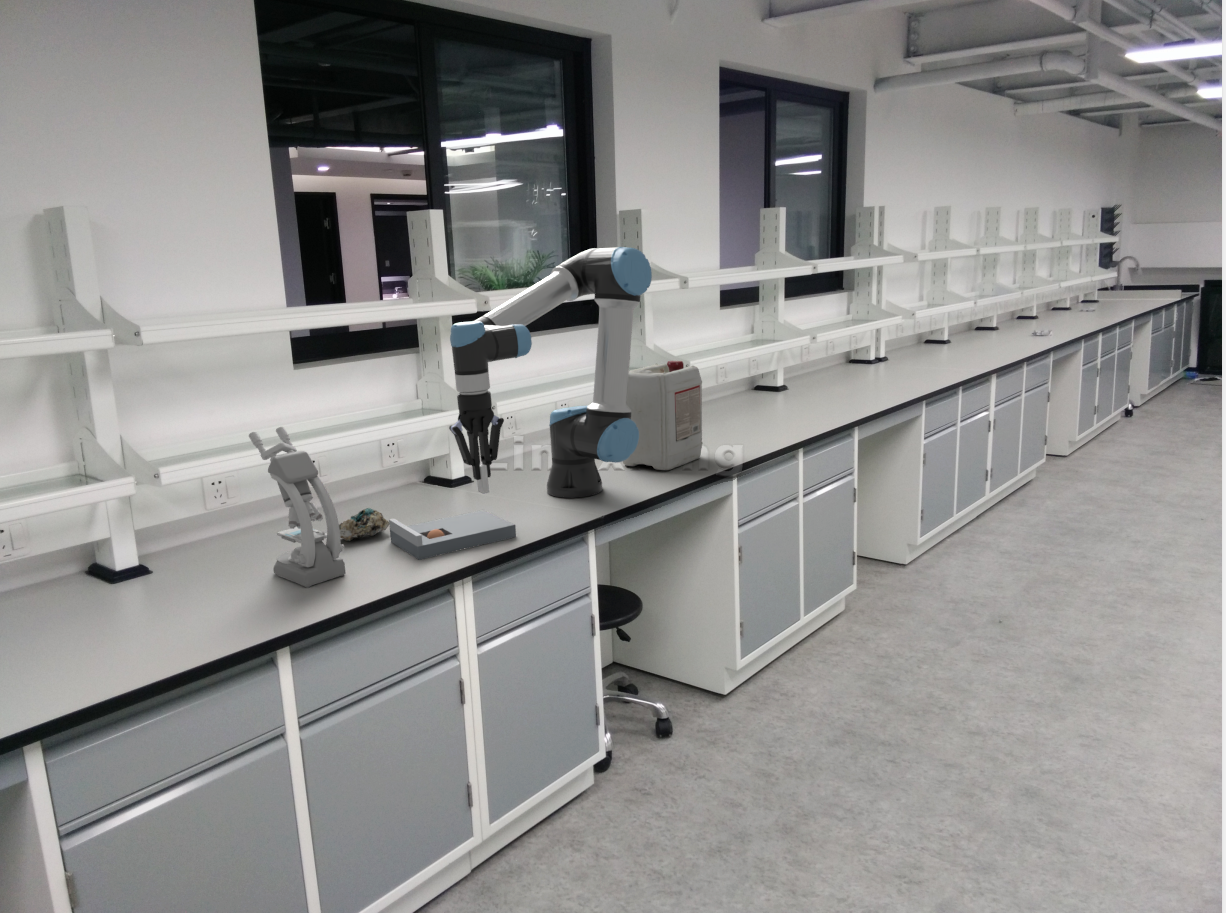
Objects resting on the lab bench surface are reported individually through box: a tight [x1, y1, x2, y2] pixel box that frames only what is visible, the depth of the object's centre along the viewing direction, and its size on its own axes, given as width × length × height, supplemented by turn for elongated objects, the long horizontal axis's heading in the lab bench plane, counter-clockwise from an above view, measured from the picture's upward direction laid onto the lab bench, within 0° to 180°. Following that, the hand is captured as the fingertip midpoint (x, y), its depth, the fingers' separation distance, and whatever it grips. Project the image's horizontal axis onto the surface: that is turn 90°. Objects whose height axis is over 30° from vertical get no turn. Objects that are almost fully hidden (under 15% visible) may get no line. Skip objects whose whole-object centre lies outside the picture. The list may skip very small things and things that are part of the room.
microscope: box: [248, 426, 346, 588], centre depth 185 cm, size 11×19×30 cm, turn 49°
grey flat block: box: [388, 509, 517, 561], centre depth 207 cm, size 24×16×5 cm, turn 125°
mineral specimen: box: [339, 507, 390, 542], centre depth 211 cm, size 12×9×8 cm
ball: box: [427, 529, 445, 539], centre depth 202 cm, size 4×4×4 cm
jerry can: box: [622, 360, 704, 471], centre depth 271 cm, size 24×19×30 cm
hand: (483, 491), depth 208 cm, fingers closed
